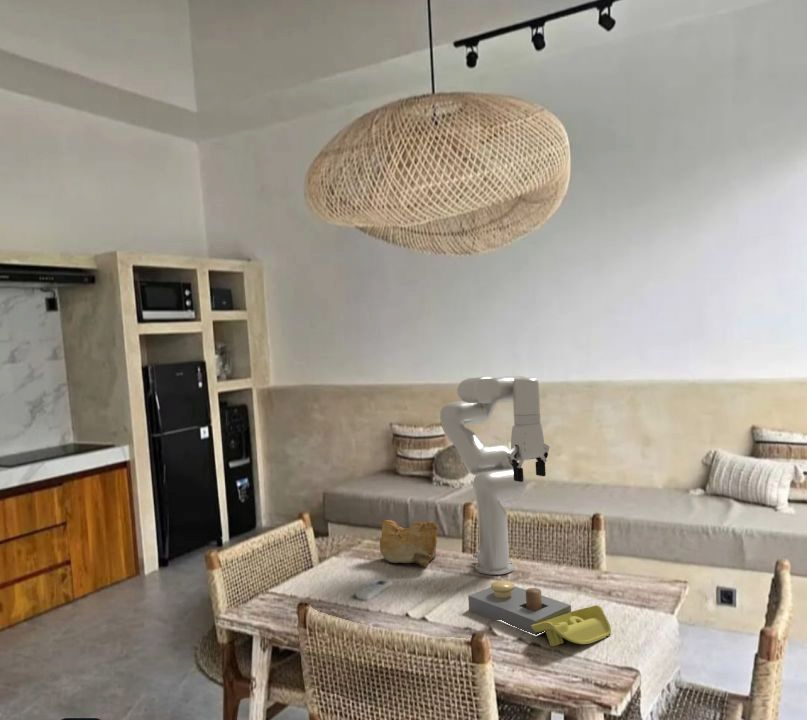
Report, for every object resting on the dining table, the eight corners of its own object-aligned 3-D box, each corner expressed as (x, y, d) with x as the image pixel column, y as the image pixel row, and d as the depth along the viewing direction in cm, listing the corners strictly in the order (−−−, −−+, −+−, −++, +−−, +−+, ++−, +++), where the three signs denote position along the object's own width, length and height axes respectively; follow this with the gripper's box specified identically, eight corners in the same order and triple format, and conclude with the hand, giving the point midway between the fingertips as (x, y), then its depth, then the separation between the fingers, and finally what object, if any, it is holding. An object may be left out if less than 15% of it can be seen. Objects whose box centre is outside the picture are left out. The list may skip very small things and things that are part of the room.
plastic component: (574, 610, 175) (603, 603, 168) (584, 640, 173) (614, 633, 166) (523, 628, 163) (552, 620, 156) (533, 660, 160) (563, 654, 153)
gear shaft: (523, 620, 176) (522, 590, 176) (533, 616, 178) (532, 586, 178) (535, 625, 173) (534, 594, 173) (545, 620, 175) (544, 590, 175)
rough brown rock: (459, 562, 228) (458, 517, 229) (430, 572, 215) (428, 525, 216) (406, 553, 243) (405, 511, 244) (375, 562, 230) (375, 518, 231)
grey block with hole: (468, 609, 185) (467, 585, 185) (503, 595, 194) (502, 572, 193) (536, 636, 166) (534, 609, 166) (571, 620, 175) (570, 594, 175)
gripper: (536, 416, 203) (539, 472, 204) (497, 422, 192) (499, 481, 193) (556, 417, 197) (559, 475, 198) (516, 424, 187) (519, 485, 187)
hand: (529, 478), depth 195 cm, fingers open, 9 cm apart
